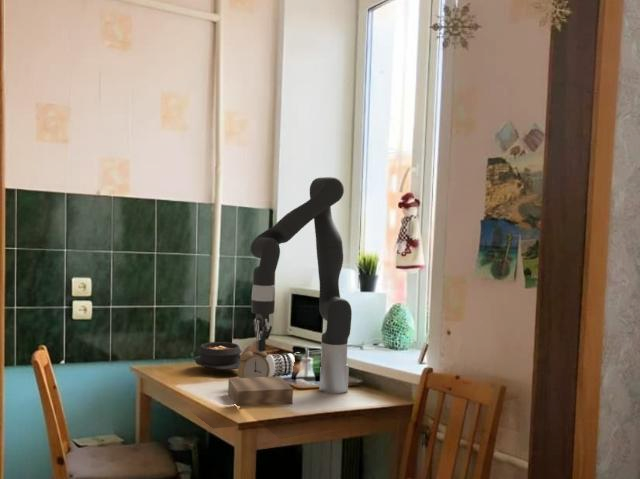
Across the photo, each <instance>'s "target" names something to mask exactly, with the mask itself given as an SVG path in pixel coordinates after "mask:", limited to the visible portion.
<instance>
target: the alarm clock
mask: <svg viewBox="0 0 640 479" xmlns="http://www.w3.org/2000/svg"><path fill="white" fill-rule="evenodd" d="M251 346H256V347H258V343H257V344H256V343H251V344H249V345H248V346H247V347H246V348H245V349H244V350H243V351H242V352H241V353H240V355H239V359H241V362H240V364H239V366H238V369H237V375H238V376H237V377H238V378H252V377H269V371H270V368H269V363H268V361H267V360H266V358H267V355H268V353H267V352H266V350H265V351H264V352H259V351H258V350H257V349H256V350H254V352H252V351H250V350H249V348H251Z"/></svg>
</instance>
